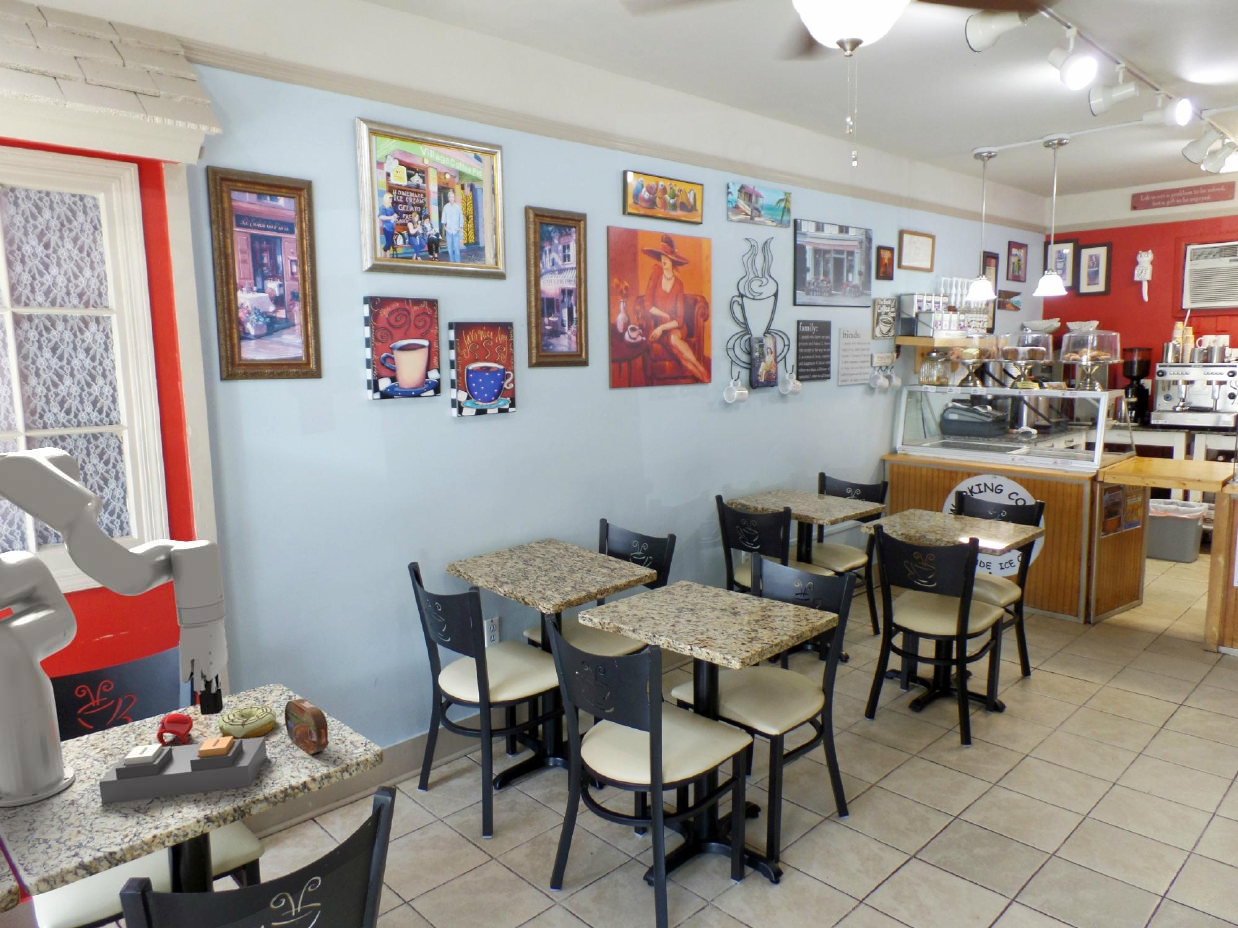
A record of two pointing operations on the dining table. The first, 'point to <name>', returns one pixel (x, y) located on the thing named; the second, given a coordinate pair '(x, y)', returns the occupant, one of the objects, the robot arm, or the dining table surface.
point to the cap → (175, 727)
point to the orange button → (216, 746)
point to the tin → (306, 726)
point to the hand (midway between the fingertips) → (212, 712)
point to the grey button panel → (184, 772)
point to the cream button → (143, 754)
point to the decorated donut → (248, 722)
